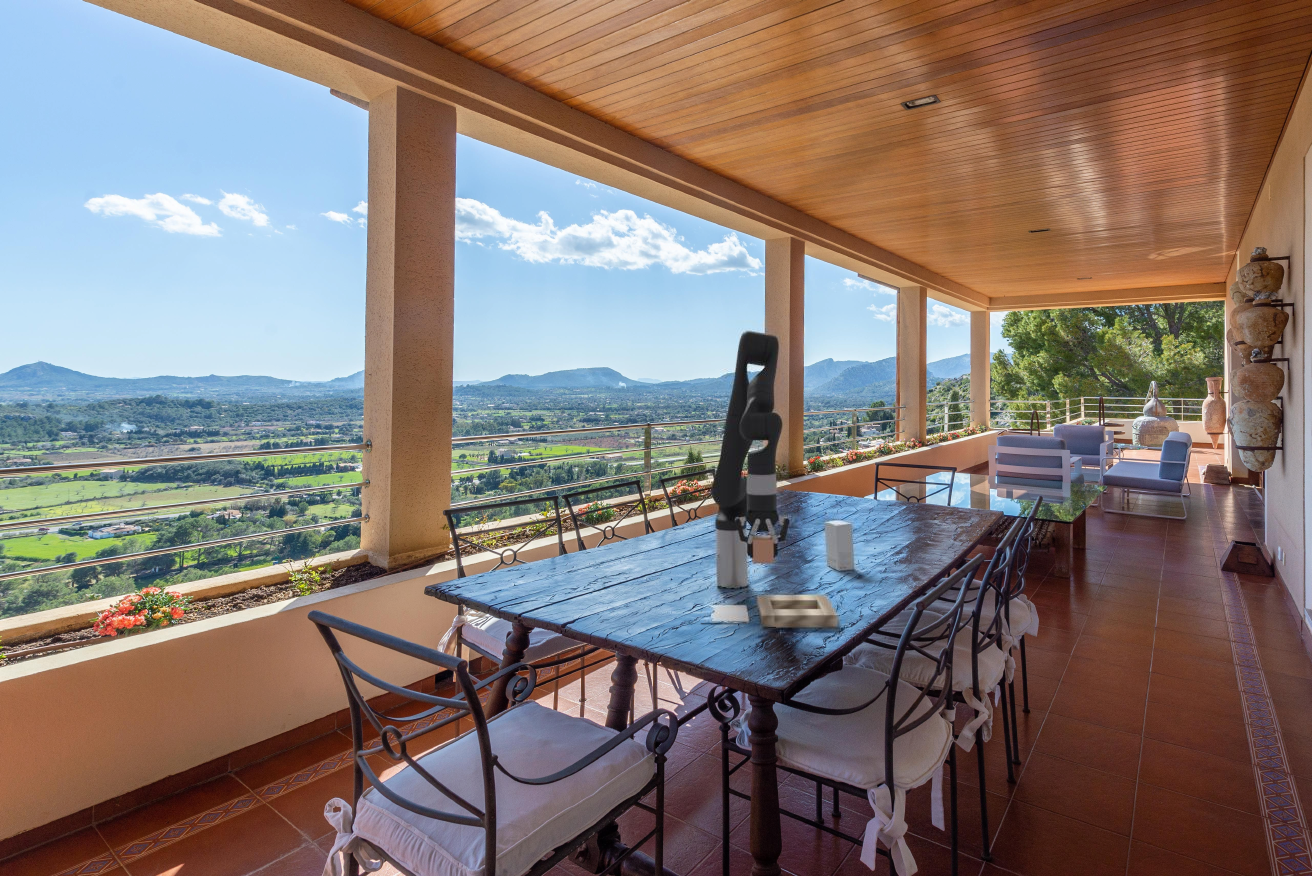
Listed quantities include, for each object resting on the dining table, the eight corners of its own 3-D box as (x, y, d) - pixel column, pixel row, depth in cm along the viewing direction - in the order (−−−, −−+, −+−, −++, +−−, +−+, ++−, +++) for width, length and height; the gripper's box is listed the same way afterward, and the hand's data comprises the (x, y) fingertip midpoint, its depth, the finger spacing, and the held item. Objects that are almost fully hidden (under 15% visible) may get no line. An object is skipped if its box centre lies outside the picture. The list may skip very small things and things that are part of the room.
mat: (700, 623, 160) (700, 621, 160) (701, 607, 172) (701, 605, 172) (749, 623, 159) (748, 620, 159) (746, 607, 171) (746, 605, 171)
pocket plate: (762, 627, 156) (761, 615, 156) (757, 606, 172) (757, 595, 172) (837, 627, 155) (837, 615, 154) (825, 605, 171) (825, 594, 170)
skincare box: (854, 570, 204) (854, 523, 203) (837, 571, 203) (836, 525, 202) (841, 563, 212) (840, 519, 211) (824, 565, 211) (824, 520, 210)
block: (753, 563, 162) (753, 539, 161) (751, 558, 166) (751, 535, 166) (773, 563, 161) (773, 539, 161) (771, 558, 166) (771, 535, 166)
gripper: (734, 494, 159) (735, 561, 161) (792, 493, 158) (793, 561, 160) (732, 489, 167) (733, 554, 168) (788, 488, 166) (788, 553, 167)
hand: (762, 557), depth 164 cm, fingers closed on block, 5 cm apart
